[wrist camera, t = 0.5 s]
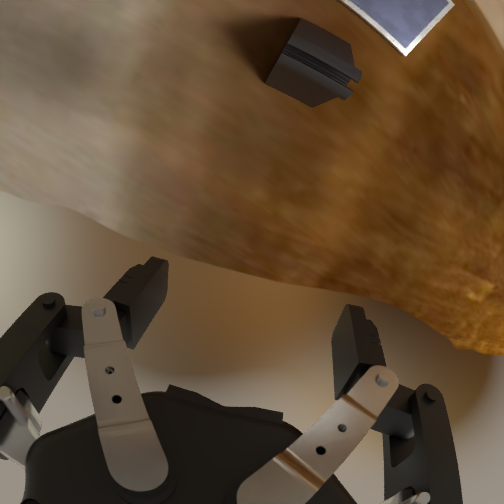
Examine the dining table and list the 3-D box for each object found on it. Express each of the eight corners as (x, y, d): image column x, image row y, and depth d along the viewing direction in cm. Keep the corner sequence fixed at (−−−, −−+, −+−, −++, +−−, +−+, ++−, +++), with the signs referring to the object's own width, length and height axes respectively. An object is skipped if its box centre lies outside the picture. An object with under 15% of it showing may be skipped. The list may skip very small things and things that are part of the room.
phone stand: (301, 18, 25) (312, 0, 15) (349, 44, 26) (384, 42, 16) (264, 83, 30) (256, 97, 20) (311, 107, 31) (326, 134, 22)
